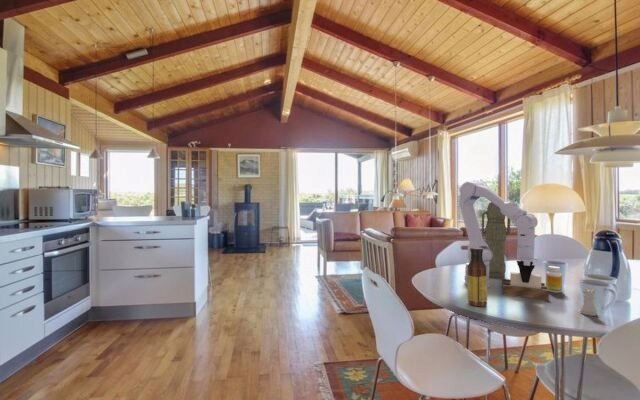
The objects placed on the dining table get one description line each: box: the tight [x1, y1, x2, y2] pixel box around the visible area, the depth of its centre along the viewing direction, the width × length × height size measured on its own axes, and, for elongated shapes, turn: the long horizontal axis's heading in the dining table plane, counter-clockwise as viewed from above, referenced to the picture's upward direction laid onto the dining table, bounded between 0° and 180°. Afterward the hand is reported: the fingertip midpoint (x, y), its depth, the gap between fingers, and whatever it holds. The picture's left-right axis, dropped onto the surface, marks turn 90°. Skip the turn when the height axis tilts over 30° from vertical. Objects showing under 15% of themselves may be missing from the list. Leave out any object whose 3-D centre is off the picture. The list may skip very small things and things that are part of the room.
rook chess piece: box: [580, 288, 598, 317], centre depth 114 cm, size 4×4×8 cm
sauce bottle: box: [467, 247, 488, 308], centre depth 122 cm, size 7×6×20 cm
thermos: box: [481, 201, 511, 280], centre depth 164 cm, size 9×12×35 cm
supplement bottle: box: [545, 265, 563, 294], centre depth 141 cm, size 5×5×10 cm
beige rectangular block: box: [510, 271, 542, 289], centre depth 134 cm, size 10×3×7 cm, turn 64°
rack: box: [501, 278, 550, 301], centre depth 137 cm, size 15×13×4 cm
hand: (524, 280), depth 134 cm, fingers open, 4 cm apart
